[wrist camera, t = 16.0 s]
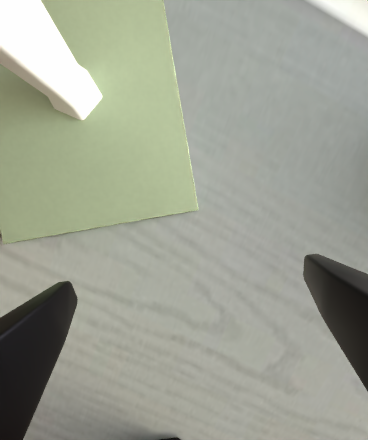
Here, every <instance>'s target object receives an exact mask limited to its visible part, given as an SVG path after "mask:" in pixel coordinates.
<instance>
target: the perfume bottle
mask: <svg viewBox="0 0 368 440" xmlns="http://www.w3.org/2000/svg"><path fill="white" fill-rule="evenodd" d="M0 64H1V65H3V66H4V67H6V68H7V69H9V70H10V71H11V72H13V73H14V74H16V75H17V76H19V77H20V78H22V79H23V80H24V81H26V82H27V83H29V84H30V85H32V86H33V87H35V88H36V89H37V90H39V91H40V92H42V93H43V94H45V95H46V96H47V97H48V98H49V100H50V102H51V104H52V105H53V107H54V109H56V110H58V111H60V112H63V113H65V114H67V115H70V116H72V117H74V118H77V119H79V120H84V119H85V118H86V117H87V116H88V115H89V114H90V112H91V111H92V110H93V109H94V108H95V106H96V105H97V104H98V103H99V101H100V100H101V99H102V94H101V92H100V91H99V89H98V87H97V86H96V84H95V83H94V81H93V79H92V78H91V76H90V74H89V73H88V71H87V70H86V69H84V68H83V67H81V66H80V65H78V63H77V62H76V60H75V58H74V57H73V55H72V53H71V51H70V50H69V48H68V46H67V45H66V43H65V41H64V39H63V38H62V36H61V34H60V33H59V31H58V29H57V27H56V26H55V24H54V22H53V21H52V19H51V17H50V15H49V14H48V12H47V10H46V9H45V7H44V5H43V3H42V2H41V0H0Z"/></svg>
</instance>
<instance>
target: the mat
mask: <svg viewBox="0 0 368 440" xmlns="http://www.w3.org/2000/svg"><path fill="white" fill-rule="evenodd" d="M41 2H42V3H43V5H44V7H45V9H46V10H47V12H48V14H49V15H50V17H51V19H52V21H53V22H54V24H55V26H56V27H57V29H58V31H59V33H60V34H61V36H62V38H63V39H64V41H65V43H66V45H67V46H68V48H69V50H70V51H71V53H72V55H73V57H74V58H75V60H76V62H77V63H78V65H80V66H81V67H83V68H84V69H86V70H87V71H88V73H89V74H90V76H91V78H92V79H93V81H94V83H95V84H96V86H97V87H98V89H99V91H100V92H101V94H102V99H101V100H100V101H99V103H98V104H97V105H96V106H95V108H94V109H93V110H92V111H91V112H90V114H89V115H88V116H87V117H86V118H85V119H84V120H79V119H77V118H74V117H72V116H70V115H67V114H65V113H63V112H60V111H58V110H56V109H54V107H53V105H52V104H51V102H50V100H49V98H48V97H47V96H46V95H45V94H43V93H42V92H40V91H39V90H37V89H36V88H35V87H33V86H32V85H30V84H29V83H27V82H26V81H24V80H23V79H22V78H20V77H19V76H17V75H16V74H14V73H13V72H11V71H10V70H9V69H7V68H6V67H4V66H3V65H1V64H0V232H1V236H2V240H3V244H7V243H12V242H18V241H24V240H30V239H35V238H41V237H47V236H53V235H58V234H64V233H70V232H75V231H81V230H87V229H93V228H98V227H104V226H110V225H116V224H121V223H127V222H133V221H138V220H144V219H150V218H156V217H161V216H167V215H173V214H179V213H184V212H190V211H196V210H198V204H197V198H196V192H195V186H194V180H193V174H192V168H191V162H190V156H189V150H188V144H187V139H186V133H185V127H184V121H183V115H182V109H181V103H180V97H179V91H178V85H177V79H176V73H175V67H174V61H173V55H172V49H171V43H170V37H169V32H168V26H167V20H166V14H165V8H164V2H163V0H41Z"/></svg>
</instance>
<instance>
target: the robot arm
mask: <svg viewBox="0 0 368 440" xmlns="http://www.w3.org/2000/svg"><path fill="white" fill-rule="evenodd" d="M303 276H304V280H305V282H306V284H307V286H308V288H309V290H310V293H311V295H312V297H313V299H314V301H315V303H316V305H317V307H318V310H319V312H320V314H321V316H322V317H323V319H324V321H325V323H326V324H327V326H328V328H329V329H330V331H331V332H332V334H333V336H334V337H335V339H336V341H337V342H338V344H339V345H340V347H341V349H342V350H343V352H344V354H345V355H346V357H347V359H348V360H349V362H350V363H351V365H352V367H353V368H354V370H355V372H356V373H357V375H358V376H359V378H360V380H361V381H362V383H363V385H364V386H365V388H366V390H367V391H368V274H366V273H363V272H361V271H358V270H356V269H353V268H351V267H348V266H346V265H344V264H341V263H339V262H336V261H334V260H331V259H329V258H326V257H324V256H321V255H319V254H311V255H306V256H305V259H304V272H303ZM76 306H77V296H76V293H75V291H74V288H73V286H72V284H71V282H69V281H65V282H58V283H57V284H55V285H53V286H52V287H50V288H48V289H47V290H45V291H43V292H42V293H40V294H39V295H37V296H35V297H34V298H32V299H30V300H29V301H27V302H25V303H24V304H22V305H21V306H19V307H17V308H16V309H14V310H12V311H11V312H9V313H7V314H6V315H4V316H3V317H1V318H0V440H23V438H24V436H25V434H26V431H27V429H28V427H29V424H30V422H31V420H32V417H33V415H34V413H35V410H36V408H37V406H38V403H39V401H40V399H41V396H42V394H43V392H44V389H45V387H46V385H47V382H48V380H49V378H50V375H51V373H52V371H53V368H54V366H55V364H56V361H57V359H58V357H59V354H60V352H61V350H62V347H63V345H64V342H65V340H66V337H67V334H68V331H69V328H70V325H71V321H72V318H73V315H74V312H75V309H76ZM161 440H180V439H179V438H169V439H161Z"/></svg>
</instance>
